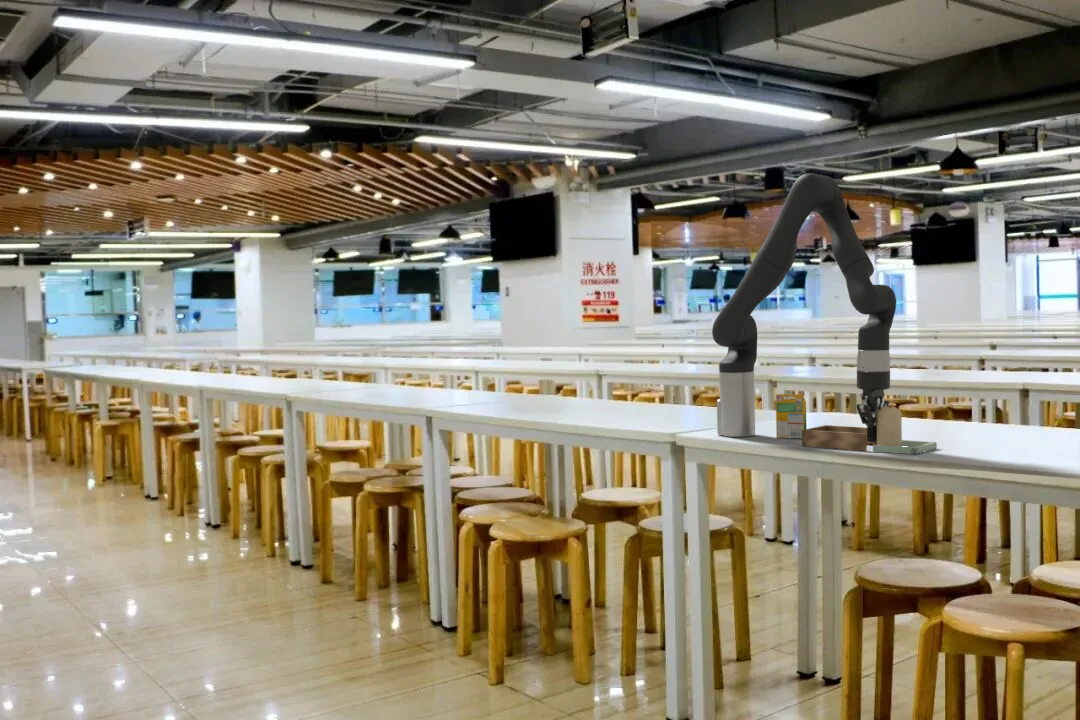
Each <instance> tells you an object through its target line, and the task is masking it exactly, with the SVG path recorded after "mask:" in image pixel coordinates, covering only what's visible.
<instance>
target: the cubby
mask: <svg viewBox="0 0 1080 720" xmlns="http://www.w3.org/2000/svg"><path fill="white" fill-rule="evenodd" d="M801 444H802V445H801V446H802V447H804V446H810V447H809V448H817V447H823V448H822V449H830V448H837V449H836V450H844V449H848V450H847V451H857V450H863V451H862V452H866V451H865V450H867V449H868V448H867V445H869V444H872V446H873V445H877V441H876V442H869V441H867V427H866V426H865V427H863V426H861V427H860V426H845V425H829V424H828V425H827V424H824V425H820V426H819V425H818V426H815V427H811V428H807V429H805V430H802V439H801ZM867 451H868V450H867Z"/></svg>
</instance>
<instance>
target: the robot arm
mask: <svg viewBox="0 0 1080 720" xmlns="http://www.w3.org/2000/svg"><path fill="white" fill-rule="evenodd" d="M811 213H817V214H818V215H819V216H820V217H821V219H822V220H823V221H824V222H825V224H826V226H827V228H828V231H829V235H830V239H831V240H830V241H831V250H832V254H833V257H834V260H835V262H836V263H837V265H838V267H839V269H840V271H841V273H842V275H843V277H844V279H845V283H846V288H847V292H848V297H849V300H850V302H851V305H852V306H853V307H854V309H855V310H856V311H857V312H858V313H860V314H861V315H865V316H866V315H868V319H867V322H866V324H864V325H862V326H860V327H859V329H858V333H857V334H858V338H857V349H858V350H857V355H856V387H857V388H856V389H859V390H862V395H861V403H857V405H856V409H857V412H858V416H859V418H860V421H861V423H862V424H863V425H865V427H866V428H867V441H869V442H876V441H877V413H878V411H879V410H880V409H881V408H882V407H884V406H888V407H889V406H890V405H889V404H890V401H889V400H886V399H885V392H884V391H885V390H889V389H890V388H891V356H890V331H891V328H892V325H893V322H894V321H893V320H894V318H895V313H896V308H897V298H896V294H895V292H894V290H893V288H891V287H890V286H889V285H886V284H873V282H872V280H871V277H872V276H873V274H874V271H875V267H874V265H873V263H872V260H871V259H870V256H869V254H867V251H866V250H865V248H864V245H862V242H861V240H860V239H859V236H858V234H857V232H856V230H855V228H854V225H853V222H852V220H851V217H850V214H849V211H848V208H847V205H846V202H845V200H844V196H843V194H842V191H841V189H840V186H839V184H838V183H837V181H836V180H835V178H832V177H830V176H828V175H825V174H824V175H823V174H818V173H812V172H810V173H809V172H808V173H807V172H806V173H804V174H802V175H800V176H798V178H797V179H796V181H794V183H793V184H792V186H791V188H790V190H789V192H788V194H787V196H786V198H785V201H784V203H783V205H782V207H781V209H780V212H779V214H778V216H777V218H776V220H775V221H774V224H773V226H772V227H771V229H770V231H769V233H768V234H767V236H766V238H765V240H764V242H763V243H762V245H761V247H760V248H759V249H758V251H757V253H756V255H755V256H754V258H753V260H752V261H751V263H750V266H749V267H748V269H747V271H746V272H745V274H744V276H743V277H742V279H741V280H740V283H739V285H738V286H737V288H736V289H735V291H734V293H733V294H732V295H731V297H730V299H729V300H728V301H727V303H726V304H725V305H724V306H723V308H722V309H721V311H720V312H719V314H718V315H717V317H716V318H715V320H714V322H713V325H712V329H711V331H712V332H711V333H712V339H713V341H714V342H715V344H717V345H718V346H721V347H724V348H725V347H726V348H727V353H726V356H725V357H723V359H721V360H720V361H719V363H718V371H719V375H718V376H719V377H718V379H719V399H717V400H716V418H717V419H716V421H717V423H716V426H717V430H716V431H717V435H718V434H719V436H722V435H723V437H732V438H735V437H737V438H740V437H741V438H743V437H751V436H755V435H756V402H755V401H756V400H755V399H756V398H755V397H756V395H755V364H756V361H757V358H758V357H757V356H758V327H757V324H756V320H755V318H754V317H753V316H752V313H753V312H754V310H755V309H756V307H758V306H759V304H761V303H762V302H763V301H764V300H765V299H766V298H767V297H769V295H770V294H772V293H773V292H774V291H775V290H776V289H777V288H778V287H779V286H780V285H781V284H782V283H783V281H784V280H785V278H786V276H787V274H788V273H789V271H790V269H791V268H792V266H793V264H794V262H795V259H796V254H797V246H798V245H797V244H798V236H799V233H800V231H801V228H802V227H803V225H804V224H805V221H806V220H807V218H808V217H809V215H810V214H811Z"/></svg>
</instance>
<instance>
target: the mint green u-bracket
mask: <svg viewBox="0 0 1080 720" xmlns="http://www.w3.org/2000/svg"><path fill="white" fill-rule="evenodd" d="M902 446H908V447H899V446H885V445H872V452H873V451H874V453H884V452H890V453H889V454H897V453H907V454H906V455H910V454H917V455H919V454H918V453H921V452H924V451H927V452H929V451H928V450H930V451H932V450H931V449H934V450H936V449H935V448H938V447H937V442H936V441H924V440H910V439H909V440H908V439H907V440H905V439H902ZM924 453H925V452H924ZM921 454H922V453H921Z"/></svg>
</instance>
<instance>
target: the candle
mask: <svg viewBox="0 0 1080 720" xmlns="http://www.w3.org/2000/svg"><path fill="white" fill-rule="evenodd" d="M902 419H903V417H902V412H901V411H900V410H899V409H898V408H897V407H895V406H891V407H890V406H889V405H888V406H884V407H882V408H881V409H880V410H879V411H878V413H877V445H885V446H899V447H902V440H903V439H902V437H903V435H902V433H903V432H902V431H903V430H902V423H903V422H902Z"/></svg>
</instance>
